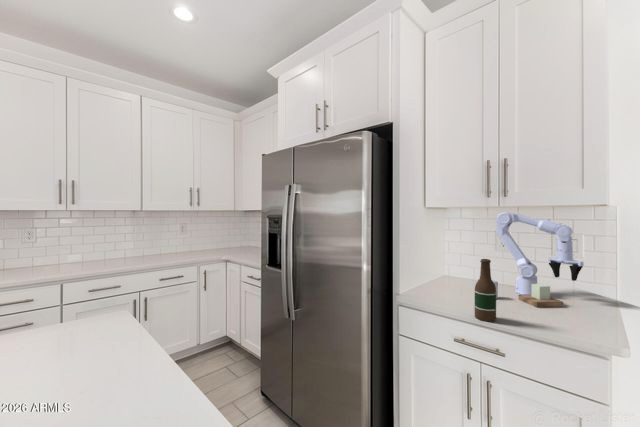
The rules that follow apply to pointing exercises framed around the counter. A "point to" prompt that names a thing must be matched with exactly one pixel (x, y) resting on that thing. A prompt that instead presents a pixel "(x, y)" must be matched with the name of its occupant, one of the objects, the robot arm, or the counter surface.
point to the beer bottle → (485, 294)
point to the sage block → (540, 291)
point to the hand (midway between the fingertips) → (565, 278)
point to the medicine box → (496, 287)
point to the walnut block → (540, 301)
